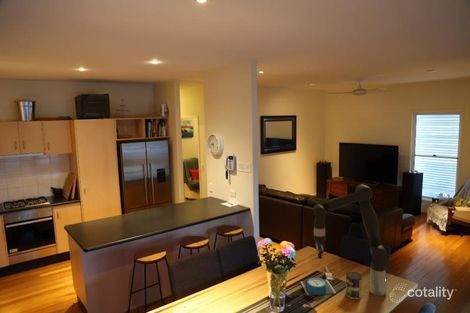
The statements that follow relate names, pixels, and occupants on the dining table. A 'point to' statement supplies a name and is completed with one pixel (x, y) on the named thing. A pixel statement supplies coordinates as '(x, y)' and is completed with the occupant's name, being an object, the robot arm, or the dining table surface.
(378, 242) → the robot arm
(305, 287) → the mat
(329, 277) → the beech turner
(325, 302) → the dining table surface
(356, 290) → the coffee can
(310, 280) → the alarm clock
